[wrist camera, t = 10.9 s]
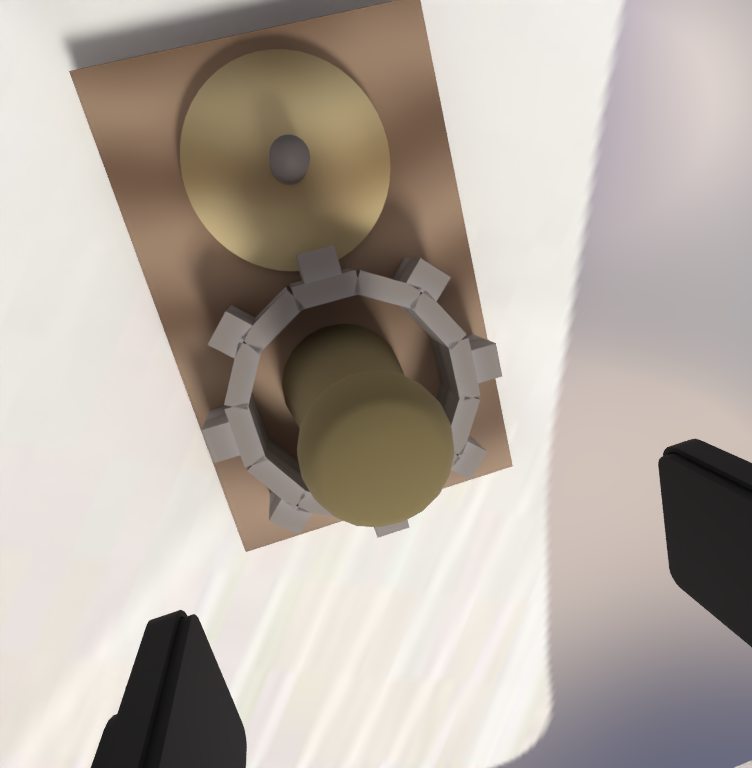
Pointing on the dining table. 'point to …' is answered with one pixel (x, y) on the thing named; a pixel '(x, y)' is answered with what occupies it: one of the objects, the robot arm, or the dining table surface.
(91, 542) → the dining table surface
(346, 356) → the cork
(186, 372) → the gear board
